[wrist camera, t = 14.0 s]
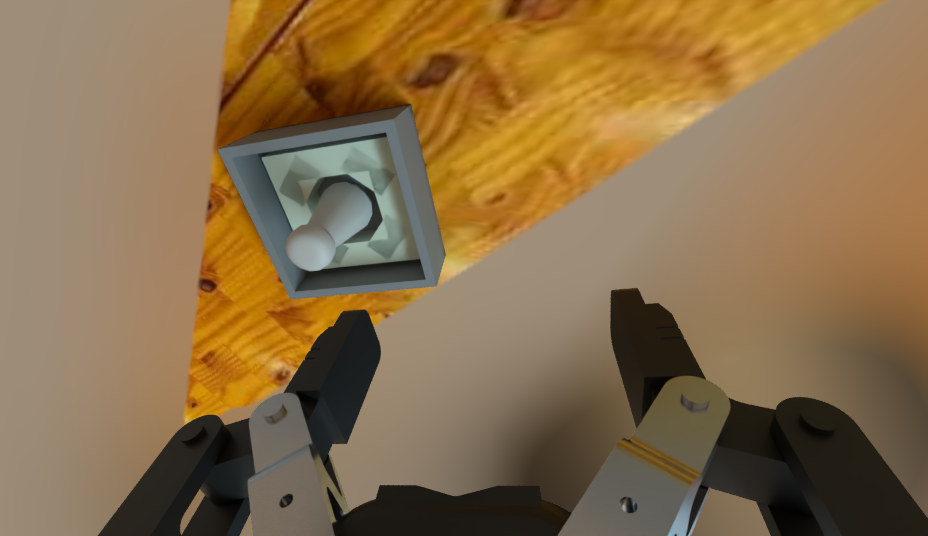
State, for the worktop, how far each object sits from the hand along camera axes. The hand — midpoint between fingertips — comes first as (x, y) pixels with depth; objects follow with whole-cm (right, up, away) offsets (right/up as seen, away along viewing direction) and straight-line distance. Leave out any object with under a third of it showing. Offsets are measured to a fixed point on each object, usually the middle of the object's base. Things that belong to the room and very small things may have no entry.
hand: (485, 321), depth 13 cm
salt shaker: (-14, +10, +34) cm, 38 cm away
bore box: (-13, +10, +35) cm, 38 cm away
